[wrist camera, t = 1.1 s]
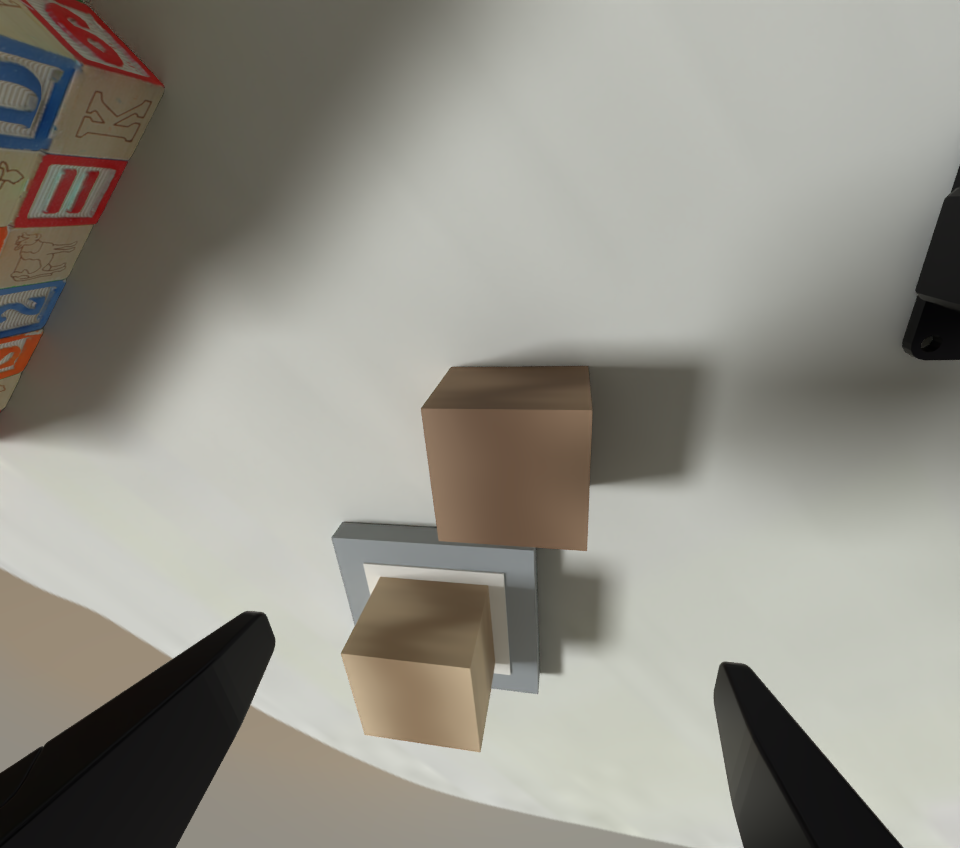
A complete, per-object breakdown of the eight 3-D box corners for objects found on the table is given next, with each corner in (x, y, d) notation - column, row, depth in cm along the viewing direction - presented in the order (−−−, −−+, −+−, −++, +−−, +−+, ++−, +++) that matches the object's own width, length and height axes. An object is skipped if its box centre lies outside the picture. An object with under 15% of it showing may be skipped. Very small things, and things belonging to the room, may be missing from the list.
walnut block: (588, 364, 16) (592, 410, 13) (584, 483, 19) (587, 550, 15) (451, 365, 17) (420, 408, 14) (462, 479, 19) (438, 541, 16)
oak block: (488, 585, 20) (469, 668, 16) (495, 663, 22) (480, 752, 19) (380, 576, 21) (340, 653, 17) (396, 652, 23) (364, 734, 20)
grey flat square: (535, 533, 20) (533, 552, 19) (539, 673, 24) (537, 695, 23) (342, 522, 22) (330, 539, 20) (375, 654, 25) (366, 674, 24)
